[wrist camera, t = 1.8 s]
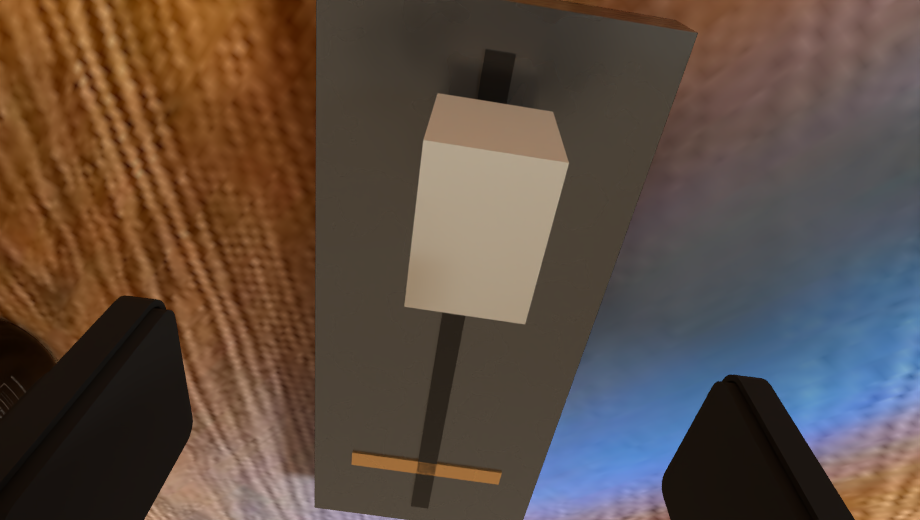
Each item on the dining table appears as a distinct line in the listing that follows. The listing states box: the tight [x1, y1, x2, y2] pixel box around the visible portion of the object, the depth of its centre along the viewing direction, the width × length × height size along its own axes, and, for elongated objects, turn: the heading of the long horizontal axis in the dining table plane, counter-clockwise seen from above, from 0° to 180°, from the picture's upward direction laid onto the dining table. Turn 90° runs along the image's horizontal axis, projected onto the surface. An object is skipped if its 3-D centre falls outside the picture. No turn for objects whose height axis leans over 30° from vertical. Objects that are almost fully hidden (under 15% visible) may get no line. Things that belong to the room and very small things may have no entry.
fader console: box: [315, 0, 698, 520], centre depth 25 cm, size 28×12×3 cm, turn 172°
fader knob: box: [404, 93, 569, 324], centre depth 17 cm, size 5×4×6 cm
